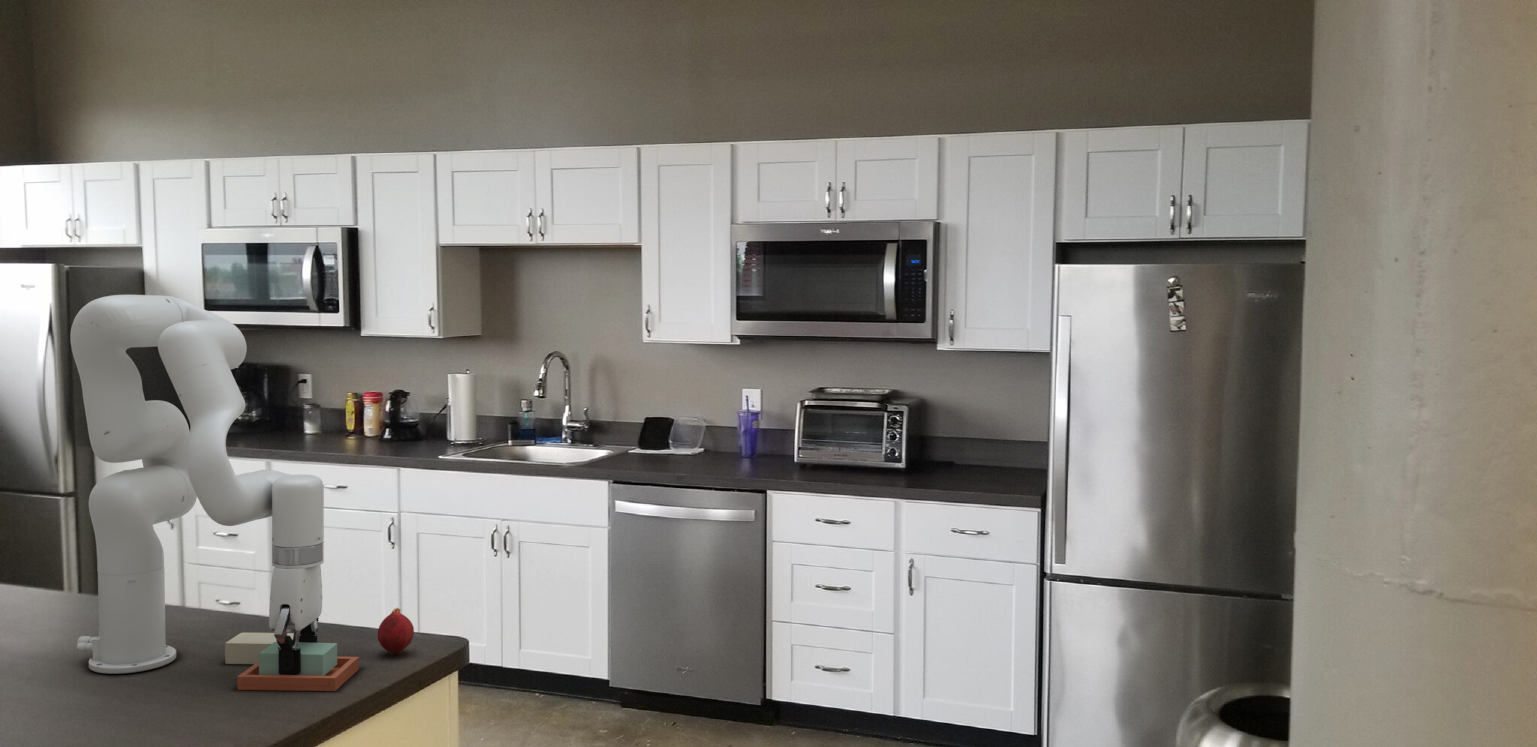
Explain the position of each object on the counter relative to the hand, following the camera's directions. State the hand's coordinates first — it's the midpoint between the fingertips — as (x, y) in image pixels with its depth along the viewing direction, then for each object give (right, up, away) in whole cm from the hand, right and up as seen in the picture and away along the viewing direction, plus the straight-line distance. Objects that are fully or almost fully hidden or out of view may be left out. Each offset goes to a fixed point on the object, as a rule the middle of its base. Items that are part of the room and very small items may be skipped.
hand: (298, 665), depth 183 cm
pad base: (0, -1, 0) cm, 1 cm away
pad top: (-10, -1, +10) cm, 14 cm away
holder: (0, -2, 0) cm, 2 cm away
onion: (+11, -2, +13) cm, 17 cm away
